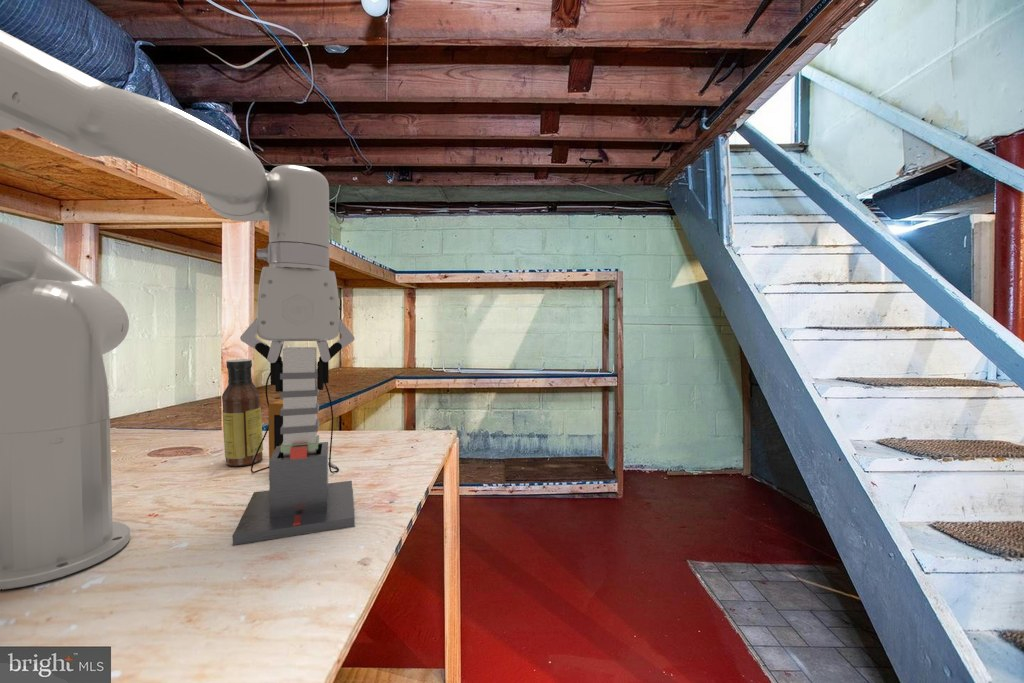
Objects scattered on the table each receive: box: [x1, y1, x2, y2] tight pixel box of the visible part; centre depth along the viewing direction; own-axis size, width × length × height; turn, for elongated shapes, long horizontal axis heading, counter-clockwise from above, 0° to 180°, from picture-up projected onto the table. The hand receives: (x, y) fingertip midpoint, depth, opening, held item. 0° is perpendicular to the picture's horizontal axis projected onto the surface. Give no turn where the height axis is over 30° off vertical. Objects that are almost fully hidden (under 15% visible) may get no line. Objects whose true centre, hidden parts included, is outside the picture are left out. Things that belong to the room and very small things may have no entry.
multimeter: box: [250, 373, 340, 474], centre depth 78 cm, size 15×10×20 cm
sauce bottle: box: [221, 358, 264, 467], centre depth 80 cm, size 7×6×20 cm
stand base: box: [232, 441, 356, 546], centre depth 60 cm, size 14×14×10 cm
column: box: [279, 346, 320, 458], centre depth 60 cm, size 5×5×16 cm
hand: (300, 388), depth 60 cm, fingers closed on column, 4 cm apart
